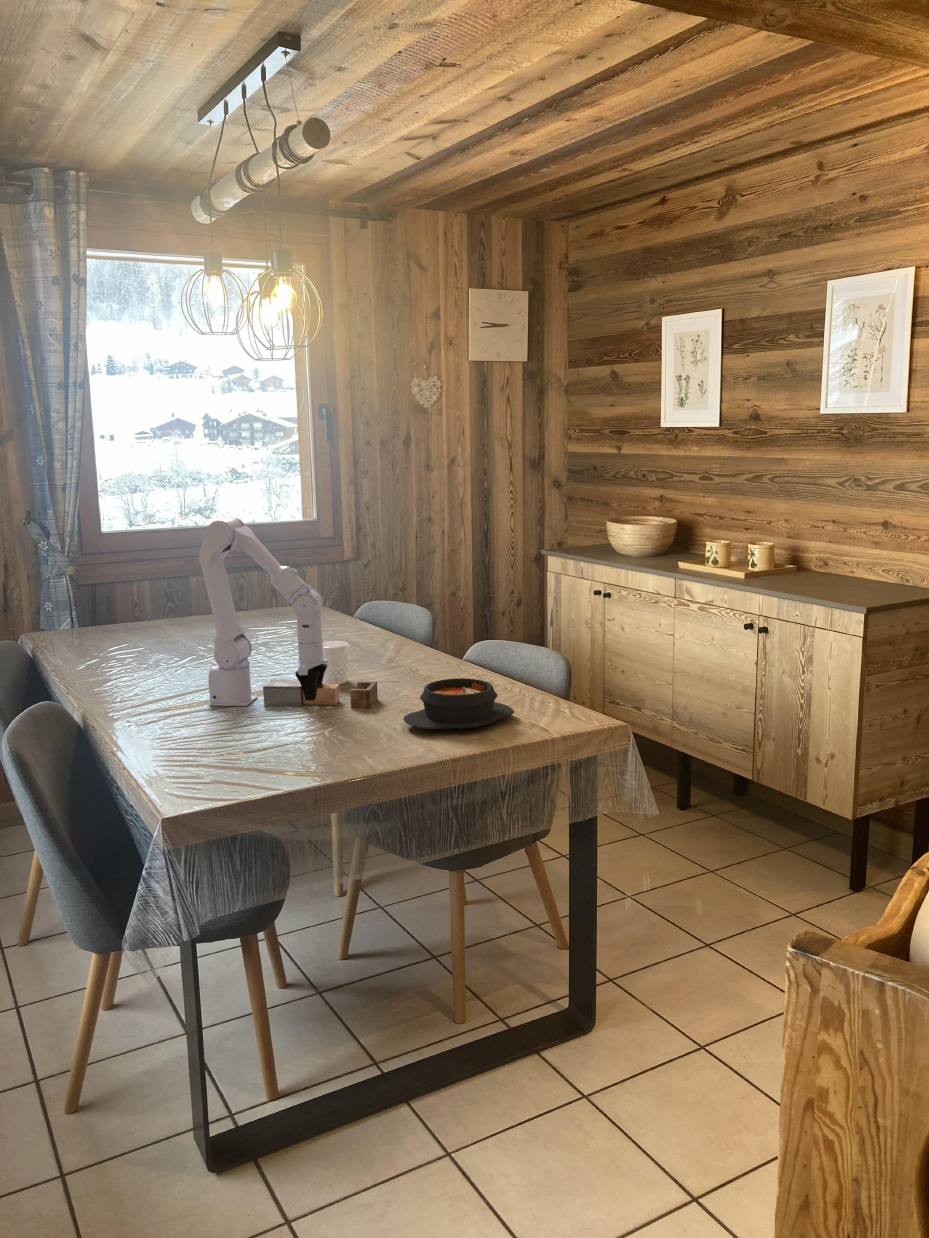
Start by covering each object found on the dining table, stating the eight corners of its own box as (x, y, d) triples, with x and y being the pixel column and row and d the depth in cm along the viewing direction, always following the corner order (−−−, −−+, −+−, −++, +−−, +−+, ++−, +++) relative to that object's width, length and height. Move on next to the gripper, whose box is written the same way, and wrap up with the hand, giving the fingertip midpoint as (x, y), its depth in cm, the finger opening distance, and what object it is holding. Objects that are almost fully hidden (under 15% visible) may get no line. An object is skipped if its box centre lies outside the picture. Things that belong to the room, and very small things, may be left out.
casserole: (489, 705, 229) (489, 670, 227) (530, 725, 212) (529, 688, 211) (390, 721, 218) (389, 684, 216) (424, 743, 201) (423, 704, 200)
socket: (351, 708, 228) (350, 690, 227) (358, 699, 236) (358, 681, 235) (370, 708, 228) (369, 690, 227) (377, 699, 235) (376, 681, 234)
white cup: (321, 686, 248) (319, 648, 246) (317, 679, 256) (315, 642, 254) (352, 684, 250) (350, 646, 248) (347, 677, 258) (345, 639, 256)
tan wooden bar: (270, 703, 233) (269, 687, 232) (275, 699, 236) (274, 683, 236) (335, 704, 231) (334, 688, 230) (339, 700, 234) (339, 684, 234)
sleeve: (264, 706, 231) (263, 686, 231) (273, 698, 238) (271, 679, 237) (301, 706, 230) (300, 687, 229) (308, 699, 237) (307, 679, 236)
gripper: (318, 648, 223) (321, 706, 225) (334, 635, 237) (337, 689, 240) (288, 648, 224) (291, 705, 226) (306, 635, 238) (309, 689, 240)
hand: (313, 697), depth 233 cm, fingers closed on tan wooden bar, 4 cm apart
